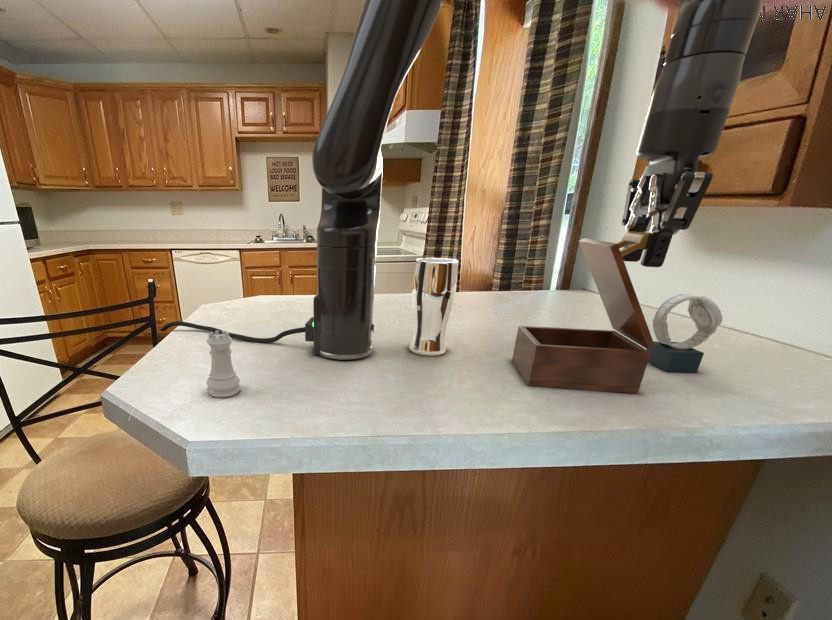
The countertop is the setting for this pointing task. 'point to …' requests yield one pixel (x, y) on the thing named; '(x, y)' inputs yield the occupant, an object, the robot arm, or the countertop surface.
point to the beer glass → (432, 303)
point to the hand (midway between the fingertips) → (639, 263)
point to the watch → (682, 353)
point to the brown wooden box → (579, 359)
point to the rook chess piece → (221, 367)
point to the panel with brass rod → (618, 284)
